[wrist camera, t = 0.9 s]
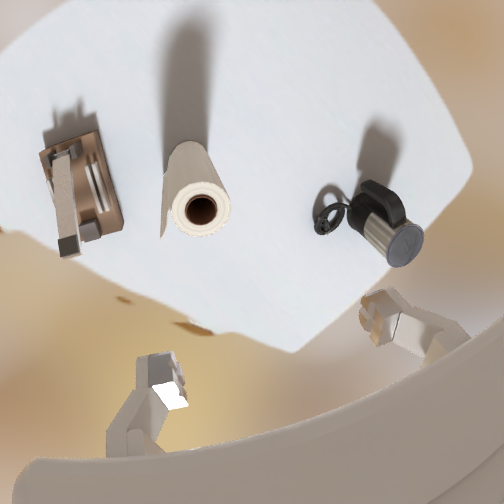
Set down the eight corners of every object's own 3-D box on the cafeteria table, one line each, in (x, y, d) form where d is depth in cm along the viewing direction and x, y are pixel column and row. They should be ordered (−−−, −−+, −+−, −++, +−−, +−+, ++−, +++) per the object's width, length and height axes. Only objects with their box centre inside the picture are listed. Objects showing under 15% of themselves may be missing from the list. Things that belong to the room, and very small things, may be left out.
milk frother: (387, 212, 63) (429, 245, 51) (335, 256, 66) (369, 299, 54) (361, 165, 55) (409, 194, 43) (302, 215, 58) (338, 257, 46)
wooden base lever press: (45, 148, 38) (30, 159, 33) (97, 129, 40) (86, 136, 35) (75, 235, 48) (66, 254, 43) (124, 222, 49) (119, 240, 44)
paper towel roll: (208, 140, 46) (233, 181, 28) (206, 175, 49) (229, 237, 32) (163, 140, 44) (157, 183, 27) (163, 176, 47) (160, 240, 30)
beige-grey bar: (55, 156, 36) (50, 153, 34) (71, 150, 36) (67, 146, 35) (65, 259, 36) (60, 259, 34) (83, 254, 36) (79, 254, 35)
